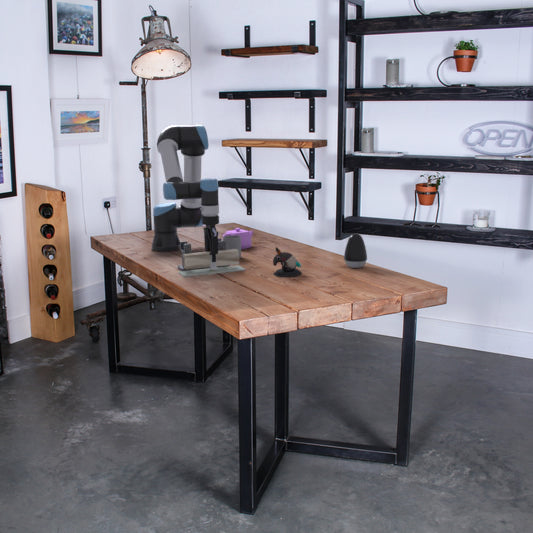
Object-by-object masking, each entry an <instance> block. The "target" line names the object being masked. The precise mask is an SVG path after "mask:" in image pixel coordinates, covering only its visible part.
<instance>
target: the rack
mask: <svg viewBox="0 0 533 533" xmlns="http://www.w3.org/2000/svg"><path fill="white" fill-rule="evenodd" d="M179 250H180V252H181V265H177V269H178V270H179V271H189V270H198V269H208V268H210V267H206V268H196V269H185V268H184V256H183V254H189V253H192V243H188V241H180V249H179ZM221 250H226V241H223V240H222V238H219V237H218V251H221ZM227 266H231V265H225V266H217V268H218V267H227Z"/></svg>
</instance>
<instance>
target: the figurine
mask: <svg viewBox="0 0 533 533" xmlns="http://www.w3.org/2000/svg"><path fill="white" fill-rule="evenodd" d="M275 252H276V253H277V254H275V256H273V260H272V265H273V266H274V267H275V266H277V264H278V263H279V264H280V265H281V268H279V269H276V270H275V271H274V272H273V276H275V277H279V278H293V277H297V276H300V275H301V274H302V271H301V270H299V269H298V268H302V265H301V263H300V262H299V261H298V260H297V259H296V257H295V256H294V254H292V253H290V252H287V251H284V252H283V251H281V250H280V249H279V248H278V247H277V246H276V247H275Z"/></svg>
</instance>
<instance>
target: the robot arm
mask: <svg viewBox="0 0 533 533" xmlns="http://www.w3.org/2000/svg"><path fill="white" fill-rule="evenodd" d="M209 146H210V145H209V138H208V133H207V129H206V127H205V126H204V125H201V124H187V125H182V124H181V125H179V124H178V125H170V126H168V127H166V128H165V129H163V130H162V131H161V133H160V134H159V135H158V137H157V142H156V148H157V152H158V153H159V154H160V157H161V162H162V167H163V173H164V178H165V182H163V185H162V192H163V194H162V195H163V198H164V200H167V201H169V200H170V201H173V202H165V203H160V204H157V205H155V206H153V208H152V209H153V210H152V211H153V212H152V213H153V214H152V216H153V230H154V235H153V238H152V242H151V251H156V252H172V251H179V250H180V242H181V240H180V237H179V235H178V229H182V228H197V227H203V226H205V227H203V236H204V238H203V239H204V240H203V242H204V250H205V252H210V251H211V253H210V254H209V255H210V269H217V258H216V254H218V238H219V231H217V228H216V225H218V224H220V216H219V214H220V204H219V189H220V188H219V182H218V181H219V180H218V179H217V178H213V177H210V178H208V177H207V178H206V177H205V178H202V157H204V155H205V154H206V151H207V150H209ZM178 151H180V154H181V155H182V156H183V173H182V170H181V169H182V168H181V165H180V160H179V156H178ZM179 200H181V201H180V204H177V203H176V202H174V201H179Z"/></svg>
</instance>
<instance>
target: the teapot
mask: <svg viewBox="0 0 533 533" xmlns="http://www.w3.org/2000/svg"><path fill="white" fill-rule="evenodd" d="M253 233H254V230H250V231H249V230H246V229H241V228H240V227H235V229H232V230H226V231H225V233H223V234H222V238H223V237H224V236H229V235H237V236H240V237H241V250H245V249H250V248H252V245H253V244H252V237H253Z"/></svg>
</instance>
